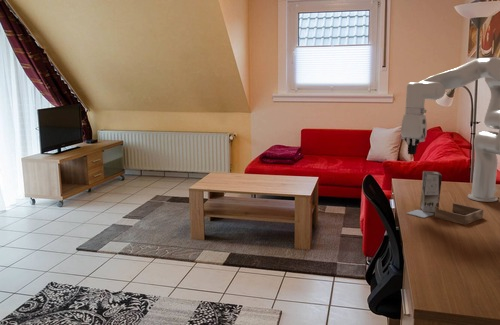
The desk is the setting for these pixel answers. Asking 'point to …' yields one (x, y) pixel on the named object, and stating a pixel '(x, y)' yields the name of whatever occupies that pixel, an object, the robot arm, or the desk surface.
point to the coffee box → (430, 191)
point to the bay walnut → (470, 212)
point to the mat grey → (420, 213)
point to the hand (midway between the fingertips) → (411, 153)
